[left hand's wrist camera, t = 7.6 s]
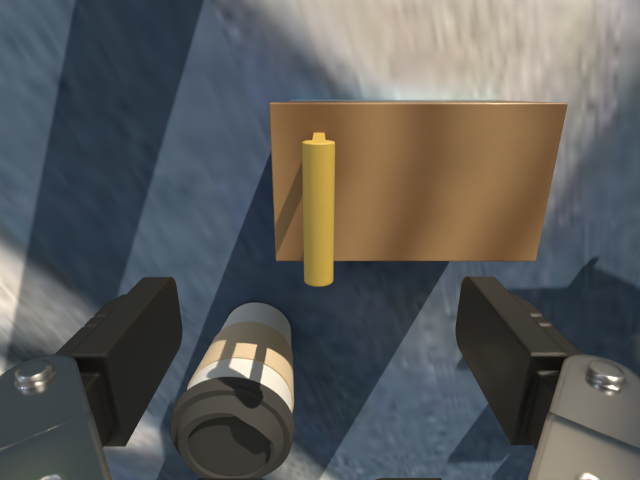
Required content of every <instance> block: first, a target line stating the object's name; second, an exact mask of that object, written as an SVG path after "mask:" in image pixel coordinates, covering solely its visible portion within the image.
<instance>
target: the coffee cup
mask: <svg viewBox="0 0 640 480" xmlns="http://www.w3.org/2000/svg"><path fill="white" fill-rule="evenodd" d="M293 407H294V388H293V354H292V350H291V327H290V324H289V322H288V320H287V318H286V317H285V316H284V314H283V313H282V312H280V311H279V310H278V309H276V308H275V307H273V306H271V305H268V304H264V303H247V304H244V305H241V306H239V307H237V308H236V309H235V310H233V311H232V312H231V314H230V315H229V317H228V318H227V320H226V322H225V324H224V325H223V327H222V329H221V331H220V332H219V333H218V334H217V335H216V337H215V338H214V340H213V342H212V344H211V345H210V347H209V349H208V351H207V352H206V354H205V356H204V358H203V359H202V361H201V363H200V365H199V366H198V368H197V370H196V372H195V373H194V375H193V377H192V379H191V380H190V382H189V385H188V388H187V391H186V392H185V393H184V394H183V395H182V396H181V397H180V398H179V400H178V401H177V403H176V405H175V407H174V410H173V414H172V419H171V424H170V433H171V438H172V441H173V443H174V445H175V447H176V449H177V451H178V452H179V454H180V455H181V457H182V459H183V460H184V462H185V463H186V465H187V466H188V467H189V468H190V469H191V470H192V471H193V472H195V473H196V474H198V475H199V476H201V477H203V478H261V477H263V476H265V475H267V474H269V473H271V472H273V471H274V470H275V469H277V468H278V467H279V466H280V465H281V464H282V463H283V462H284V461H285V459H286V458H287V456H288V454H289V452H290V449H291V444H292V440H293V437H294V431H295V424H294V418H293V415H292V412H293Z"/></svg>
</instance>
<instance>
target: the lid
mask: <svg viewBox="0 0 640 480" xmlns="http://www.w3.org/2000/svg"><path fill="white" fill-rule="evenodd" d="M269 108H270V132H271V156H272V180H273V204H274V228H275V251H276V261H304V281H305V283H306V284H308V285H310V286H315V287H322V286H327V285H329V284H331V283H332V282H333V262H334V261H535V260H536V255H537V250H538V245H539V241H540V236H541V231H542V226H543V221H544V216H545V211H546V206H547V202H548V197H549V192H550V187H551V182H552V177H553V172H554V167H555V163H556V158H557V153H558V148H559V143H560V138H561V133H562V129H563V124H564V119H565V114H566V109H567V103H270V104H269Z"/></svg>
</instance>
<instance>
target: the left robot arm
mask: <svg viewBox="0 0 640 480" xmlns="http://www.w3.org/2000/svg"><path fill="white" fill-rule="evenodd" d="M181 340H182V322H181V315H180V308H179V300H178V293H177V286H176V282H175V280H174V279H173V278H172V277H144V278H142V279H141V280H140V281H139V282H138V283H137V284H136V285H135V286H134V287H133V288H132V289H131V291H130V292H129V293H128V294H127V295H122V296H120V297H118V298H116V299H114V300H112V301H111V302H109V303H107V304H105V305H104V306H103V307H102V308H101V309H100V310H99V311H98V312H97V313H96V314H95V315H94V318H91V319H90V320H89V321H88V322H87V323H86V324H85V327H82V328H81V329H80V330H79V331H78V332H77V333H76V334H75V335H74V336H73V337H72V338H71V339H70V340H69V341H68V342H67V343H66V344H65V345H64V346H63V347H62V348H61V349H60V350H59V351H58V352H57V353H56V354H55V355H47V356H42V357H38V358H34V359H31V360H28V361H25V362H23V363H21V364H19V365H17V366H15V367H13V368H11V369H9V370H8V371H6V372H5V373H4V374H2V375H1V376H0V480H112V478H111V475H110V471H109V468H108V465H107V461H106V458H105V454H104V451H103V447H104V446H126V444H127V443H128V441H129V439H130V437H131V435H132V433H133V432H134V430H135V428H136V426H137V424H138V423H139V421H140V419H141V417H142V415H143V414H144V412H145V410H146V408H147V406H148V404H149V403H150V401H151V399H152V397H153V395H154V394H155V392H156V390H157V388H158V386H159V384H160V383H161V381H162V379H163V377H164V375H165V374H166V372H167V370H168V368H169V366H170V365H171V363H172V361H173V359H174V357H175V355H176V354H177V352H178V350H179V348H180V345H181ZM456 340H457V344H458V347H459V349H460V351H461V353H462V355H463V357H464V359H465V361H466V362H467V364H468V366H469V368H470V370H471V372H472V373H473V375H474V377H475V379H476V381H477V383H478V384H479V386H480V388H481V390H482V392H483V394H484V395H485V397H486V399H487V401H488V403H489V405H490V406H491V408H492V410H493V412H494V414H495V416H496V417H497V419H498V421H499V423H500V425H501V427H502V428H503V430H504V432H505V434H506V436H507V438H508V439H509V441H510V443H511V445H533V446H534V447H535V449H536V454H535V458H534V461H533V465H532V468H531V471H530V475H529V478H528V480H640V376H639V375H638V374H636V373H635V372H634V371H632V370H631V369H629V368H627V367H625V366H623V365H621V364H619V363H617V362H615V361H612V360H609V359H606V358H602V357H598V356H593V355H583V354H582V353H581V352H580V351H579V350H578V349H577V348H576V347H575V346H574V345H573V344H572V343H571V342H570V341H569V340H568V339H567V338H566V337H565V336H564V335H563V334H562V333H561V332H560V331H559V330H558V329H557V328H556V327H555V326H552V323H551V322H550V321H549V320H548V319H547V318H546V317H543V314H542V313H541V312H540V311H539V310H538V309H537V308H536V307H535V306H534V305H533V304H532V303H530V302H528V301H526V300H524V299H523V298H521V297H519V296H517V295H515V294H510V293H509V292H508V291H507V289H506V288H505V287H504V286H503V285H502V284H501V283H500V282H499V281H498V280H497V279H496V278H495V277H465V278H464V279H463V281H462V285H461V291H460V299H459V306H458V313H457V321H456ZM198 480H263V479H259V478H199V479H198ZM377 480H442V479H441V478H381V479H377Z"/></svg>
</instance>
